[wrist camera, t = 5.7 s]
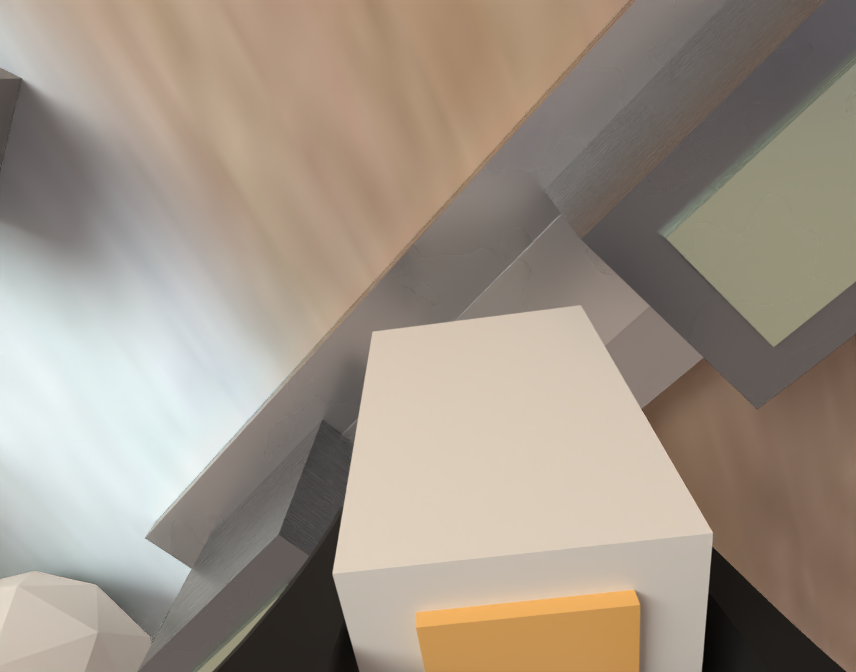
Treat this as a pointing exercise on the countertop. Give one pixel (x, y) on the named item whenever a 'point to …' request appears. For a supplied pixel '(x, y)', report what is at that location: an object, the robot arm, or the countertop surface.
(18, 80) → the relay block
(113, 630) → the beige faceted rounded lump
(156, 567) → the countertop surface
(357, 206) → the countertop surface
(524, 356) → the block
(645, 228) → the rail
